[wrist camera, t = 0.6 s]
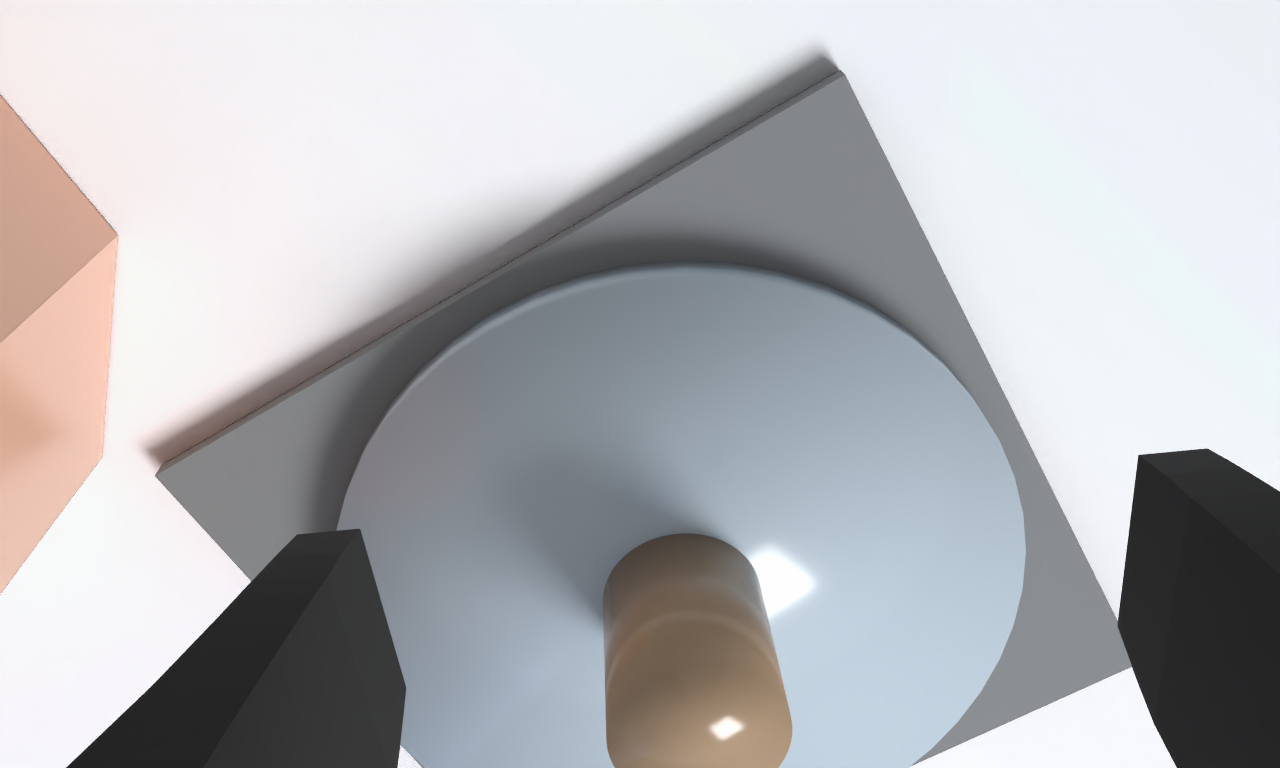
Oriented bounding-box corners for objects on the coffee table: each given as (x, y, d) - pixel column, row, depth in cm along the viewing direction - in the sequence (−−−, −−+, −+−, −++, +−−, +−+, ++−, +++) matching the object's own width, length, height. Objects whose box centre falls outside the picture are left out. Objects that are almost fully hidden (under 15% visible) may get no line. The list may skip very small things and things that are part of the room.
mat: (564, 907, 27) (563, 921, 27) (161, 464, 22) (155, 475, 21) (1130, 650, 24) (1138, 663, 24) (839, 69, 19) (845, 75, 19)
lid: (571, 900, 27) (569, 1091, 23) (195, 483, 21) (106, 636, 17) (1106, 656, 24) (1210, 822, 20) (830, 117, 19) (896, 199, 15)
